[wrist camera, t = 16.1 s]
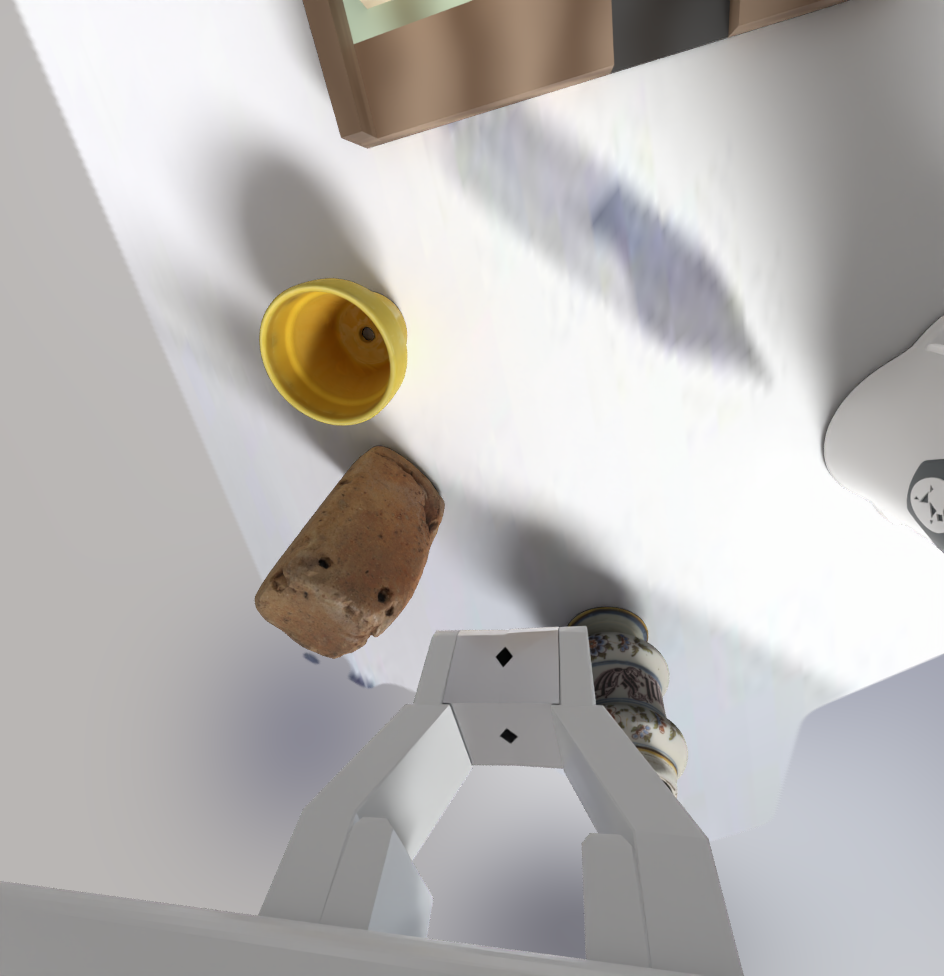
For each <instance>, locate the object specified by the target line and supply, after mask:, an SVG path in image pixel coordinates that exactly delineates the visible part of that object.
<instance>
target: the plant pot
mask: <svg viewBox="0 0 944 976" xmlns="http://www.w3.org/2000/svg"><path fill="white" fill-rule="evenodd" d="M365 327H369V328H371V329H372V331H373V332H374V335H375V337H374V339H373V340H372V341H368V340H366V339H365V338H364V337H363V335H362V330H363V328H365ZM259 342H260V351H261V357H262V360H263V364H264V366H265V369H266V371H267V374H268V376H269V378H270V379H271V381H272V383H273V384H274V386H275V387H276V389H277V390H278V392H279V393H280V394H281V395H282V396H283V397H284V399H285V400H286V401H287V402H288V403H290V404H291V405H292V406H293V407H295V408H296V409H297V410H298V411H300V412H301V413H303V414H305V415H306V416H308V417H310V418H312V419H315V420H317V421H320V422H323V423H327V424H332V425H353V424H358V423H362V422H364V421H367V420H369V419H371V418H372V417H374V416H375V415H377V414H378V413H379V412H380V411H381V410H382V409H383V408H384V407H385V406H386V405H387V404H388V403H389V402H390V400H391V399H392V398H393V396H394V395H395V394H396V392H397V391H398V389H399V387H400V386H401V384H402V382H403V379H404V376H405V372H406V368H407V347H406V343H407V328H406V324H405V321H404V318H403V316H402V314H401V312H400V311H399V309H398V308H397V307H396V305H395V304H394V303H393V302H392V301H391V300H389V299H388V298H386V297H385V296H383V295H381V294H379V293H376V292H371V291H370V290H368V289H367V288H365V287H363V286H361V285H359V284H357V283H354V282H351V281H348V280H343V279H336V278H326V279H318V280H313V281H308V282H305V283H302V284H298V285H296V286H293V287H291V288H289V289H287V290H285V291H283V292H282V293H281V294H279V295H278V296H277V297H276V298H275V299H274V300H273V301H272V302H271V304H270V305H269V307H268V308H267V310H266V312H265V314H264V316H263V319H262V322H261V327H260V336H259Z"/></svg>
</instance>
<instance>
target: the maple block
mask: <svg viewBox="0 0 944 976" xmlns="http://www.w3.org/2000/svg"><path fill="white" fill-rule="evenodd" d="M360 1H361V2H362V3H363V5H364V6H365V7H366V8H367V9H369V8H372V7H374V6H377V5H380V4H383V3H385V2H388V1H391V0H360Z"/></svg>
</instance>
